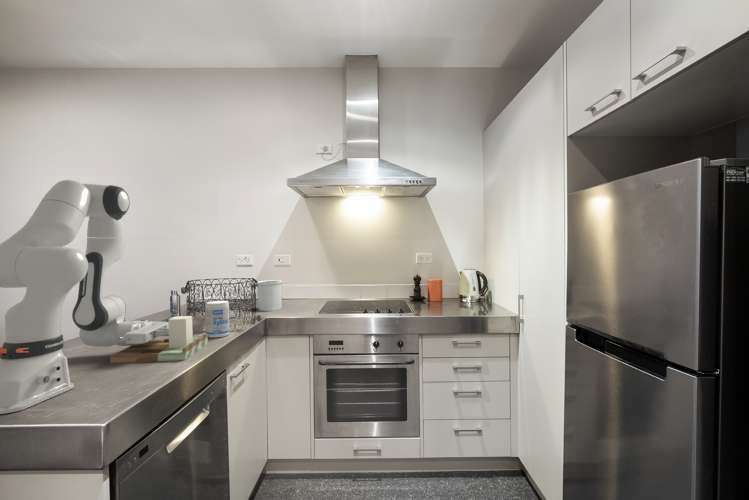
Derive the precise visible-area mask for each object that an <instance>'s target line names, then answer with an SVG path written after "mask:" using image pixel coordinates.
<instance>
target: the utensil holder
mask: <svg viewBox="0 0 749 500" xmlns="http://www.w3.org/2000/svg"><path fill="white" fill-rule="evenodd" d="M282 283H283V281H282V280H280V279H271V280H270V279H269V280H259V281H257V282H256V286H257V305H258V306H257V307H258V311H259V312H275V311H279V310H282V308H283V307H282V304H283V303H282V302H283V300H282V298H283V297H282V296H283V295H282V292H283V291H282Z"/></svg>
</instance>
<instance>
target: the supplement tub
mask: <svg viewBox="0 0 749 500" xmlns="http://www.w3.org/2000/svg"><path fill="white" fill-rule="evenodd" d="M204 312H205V319H204V320H205V333H207V335H208V339H209V338H211V339H213V338H214V339H216V338H225V337H226V336H229V335H230V302H229V301H227V300H213V301H206V302H205V311H204Z"/></svg>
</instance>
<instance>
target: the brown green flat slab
mask: <svg viewBox="0 0 749 500" xmlns="http://www.w3.org/2000/svg"><path fill="white" fill-rule="evenodd" d="M208 339H209V337H208V335H207V333H206V332H205V333H203V334H202V335H200V336H198V337H193V342H191V343H190V344H188V345H187V346H185V347H169V338H155V339H153V340H151V341H149V342H147V343H144V344H138V345H133V346H127V347H126V348H124V349H122V350H119V351H117V352H115V353H113V354H111V355H110V357H109V358H110V361H109V363H110V364H126V363H129V364H130V363H148V362H151V363H152V362H165V361H167V362H170V361H186V360H188V359H189V358H190V357H192V356H193V355H194V354H195V353H196V352H198V351H199V350H201V349H203V347H205V346H206V345H207V344H208V341H209V340H208Z"/></svg>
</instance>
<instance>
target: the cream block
mask: <svg viewBox="0 0 749 500" xmlns="http://www.w3.org/2000/svg"><path fill="white" fill-rule="evenodd" d="M167 322H168V323H169V335H168V339H169V347H185V346H187V345H188V344H190V343H191V342H193V338H194V336H193V335H194V332H193V315H185V316H181V315H179V316H174V317H171V318H169V319H168V321H167Z"/></svg>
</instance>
